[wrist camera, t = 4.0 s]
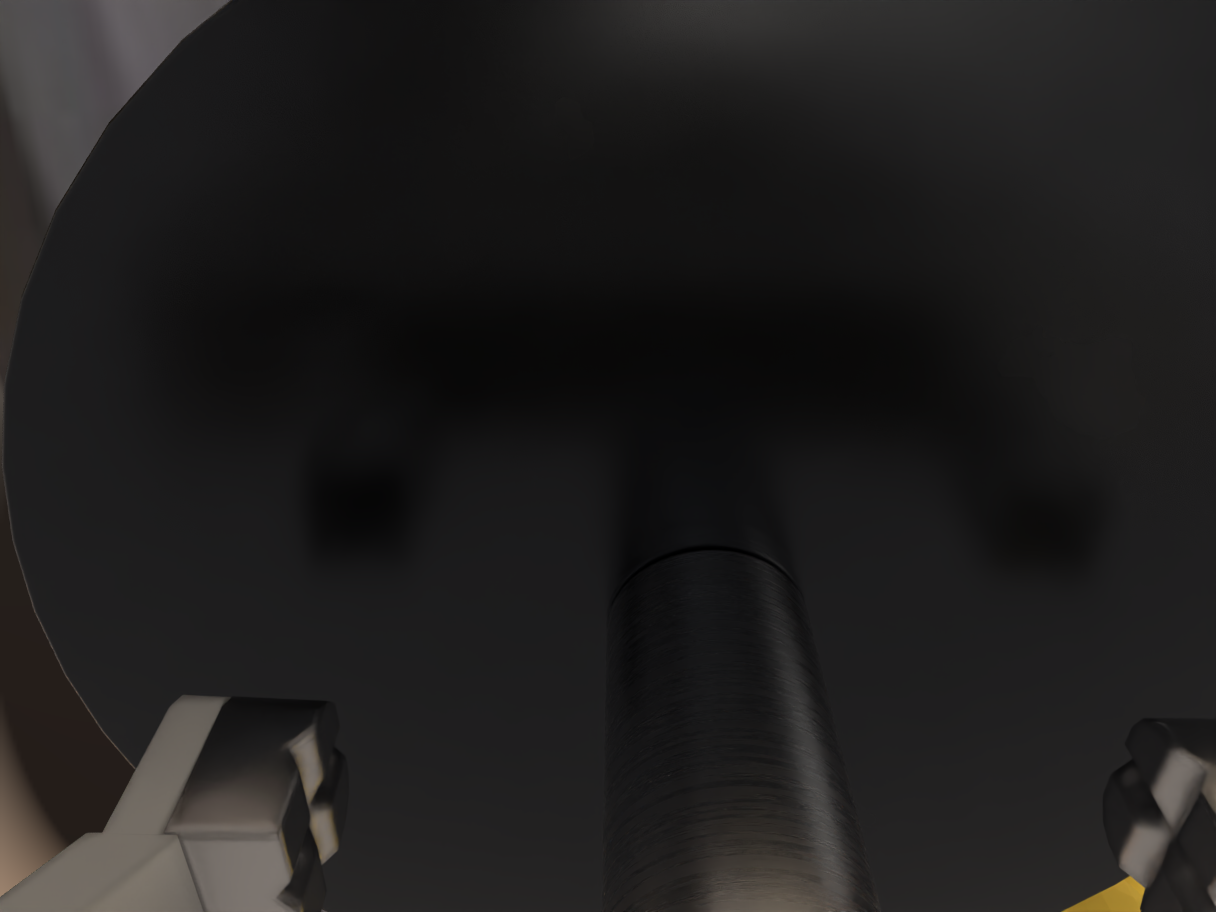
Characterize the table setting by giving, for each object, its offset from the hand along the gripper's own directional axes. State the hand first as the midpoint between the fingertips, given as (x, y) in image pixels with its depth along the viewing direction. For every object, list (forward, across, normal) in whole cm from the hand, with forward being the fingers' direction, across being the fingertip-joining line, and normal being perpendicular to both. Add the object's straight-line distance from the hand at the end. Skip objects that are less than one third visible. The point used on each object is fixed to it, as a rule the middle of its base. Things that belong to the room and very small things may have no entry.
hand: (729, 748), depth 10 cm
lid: (+2, 0, 0) cm, 3 cm away
